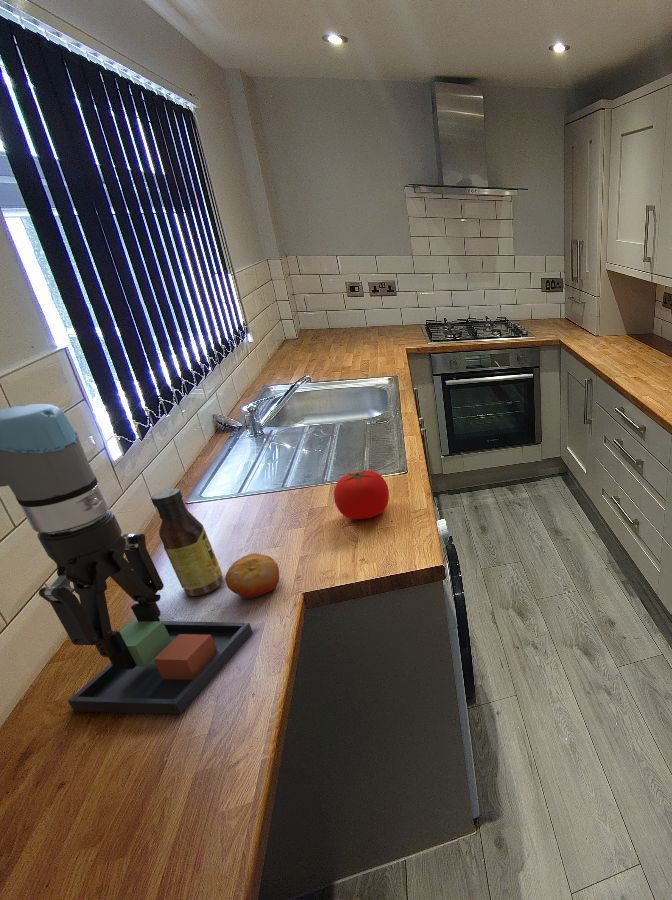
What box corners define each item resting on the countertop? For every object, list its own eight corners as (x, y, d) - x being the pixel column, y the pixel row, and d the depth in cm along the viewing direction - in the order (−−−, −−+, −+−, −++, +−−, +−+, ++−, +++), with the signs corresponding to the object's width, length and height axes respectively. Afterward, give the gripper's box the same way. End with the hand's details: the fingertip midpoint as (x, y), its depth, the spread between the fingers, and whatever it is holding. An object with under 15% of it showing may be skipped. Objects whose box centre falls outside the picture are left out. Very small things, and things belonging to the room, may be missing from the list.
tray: (73, 711, 73) (67, 701, 72) (162, 630, 88) (158, 620, 87) (181, 714, 73) (175, 704, 72) (253, 632, 87) (249, 622, 86)
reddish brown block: (162, 679, 78) (153, 659, 76) (188, 653, 82) (179, 633, 80) (195, 680, 77) (186, 660, 76) (219, 654, 82) (211, 634, 80)
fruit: (271, 561, 102) (267, 540, 97) (287, 594, 99) (284, 574, 94) (222, 580, 97) (216, 559, 91) (238, 615, 94) (232, 596, 89)
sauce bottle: (231, 583, 98) (196, 490, 90) (193, 602, 94) (153, 506, 85) (214, 571, 102) (179, 481, 93) (177, 589, 97) (136, 496, 89)
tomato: (389, 497, 128) (381, 458, 123) (395, 521, 118) (386, 479, 113) (339, 507, 123) (329, 467, 119) (340, 533, 113) (329, 491, 109)
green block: (113, 666, 77) (101, 645, 75) (141, 640, 81) (131, 620, 80) (145, 666, 77) (134, 646, 75) (172, 641, 81) (162, 621, 79)
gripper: (31, 562, 61) (113, 703, 71) (157, 487, 77) (209, 610, 87) (-30, 561, 61) (60, 702, 71) (108, 487, 78) (165, 610, 87)
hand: (142, 651), depth 79 cm, fingers closed on green block, 5 cm apart
